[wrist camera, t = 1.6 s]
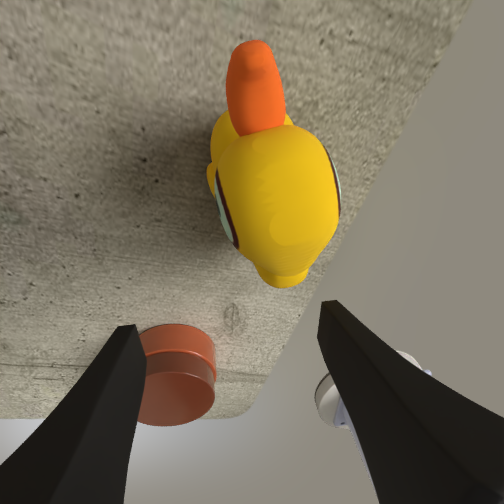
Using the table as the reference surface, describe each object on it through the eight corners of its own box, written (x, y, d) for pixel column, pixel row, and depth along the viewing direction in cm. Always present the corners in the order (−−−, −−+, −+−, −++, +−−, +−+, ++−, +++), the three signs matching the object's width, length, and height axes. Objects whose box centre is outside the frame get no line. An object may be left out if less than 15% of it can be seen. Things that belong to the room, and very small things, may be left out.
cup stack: (212, 319, 24) (214, 364, 21) (217, 374, 28) (220, 420, 24) (120, 328, 23) (105, 377, 20) (139, 384, 27) (129, 433, 24)
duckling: (175, 67, 15) (140, 67, 6) (278, 38, 15) (376, 1, 6) (233, 250, 21) (254, 371, 13) (306, 230, 21) (375, 338, 13)
